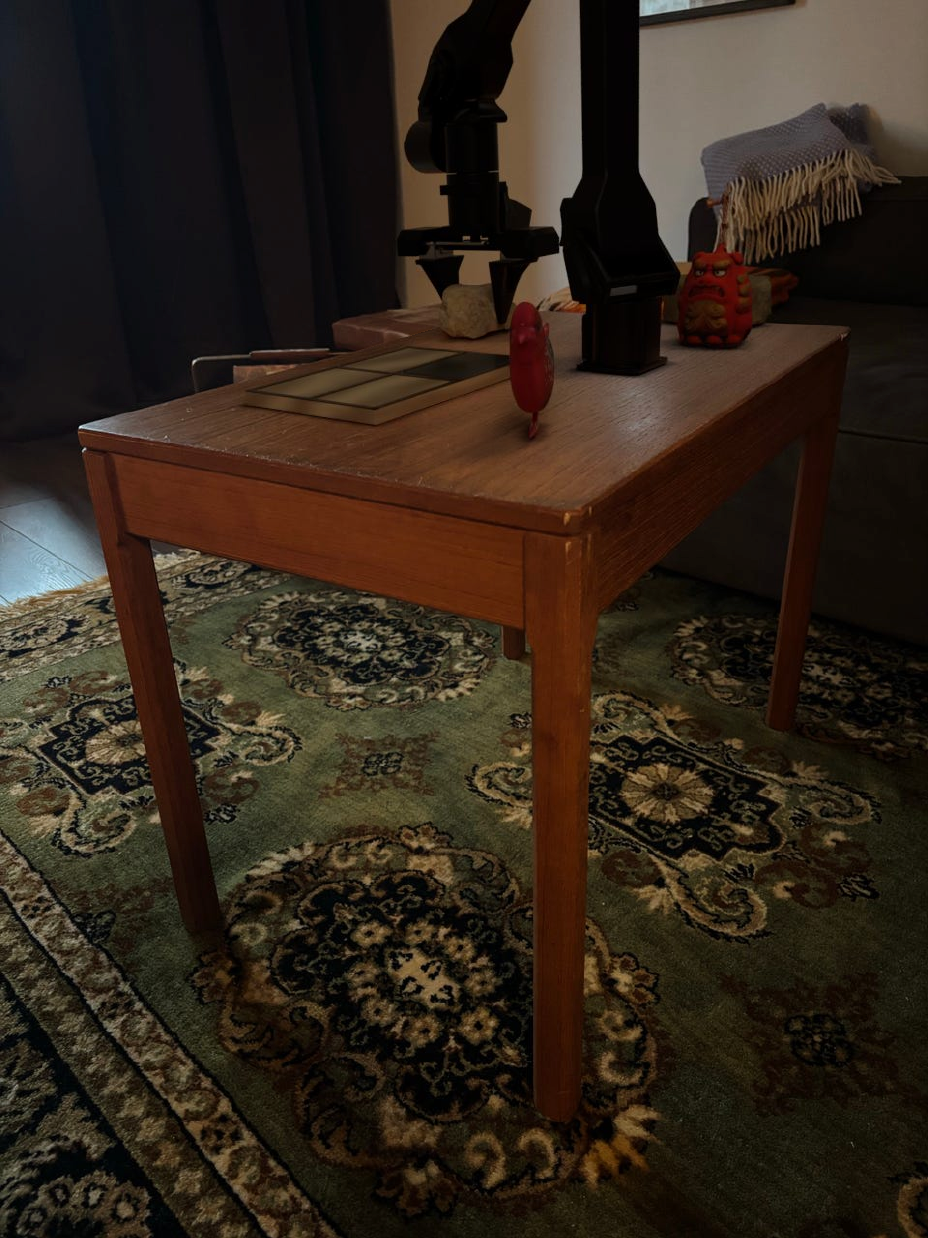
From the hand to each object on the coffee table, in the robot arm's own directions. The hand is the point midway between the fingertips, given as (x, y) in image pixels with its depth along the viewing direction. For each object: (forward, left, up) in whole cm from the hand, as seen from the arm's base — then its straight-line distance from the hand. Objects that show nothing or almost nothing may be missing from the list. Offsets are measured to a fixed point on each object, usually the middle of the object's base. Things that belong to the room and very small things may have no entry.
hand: (478, 322), depth 111 cm
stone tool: (0, 0, -1) cm, 1 cm away
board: (-9, +26, -1) cm, 28 cm away
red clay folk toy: (-27, -4, -1) cm, 27 cm away
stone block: (-22, -16, -1) cm, 27 cm away
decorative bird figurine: (-28, +32, -1) cm, 43 cm away
